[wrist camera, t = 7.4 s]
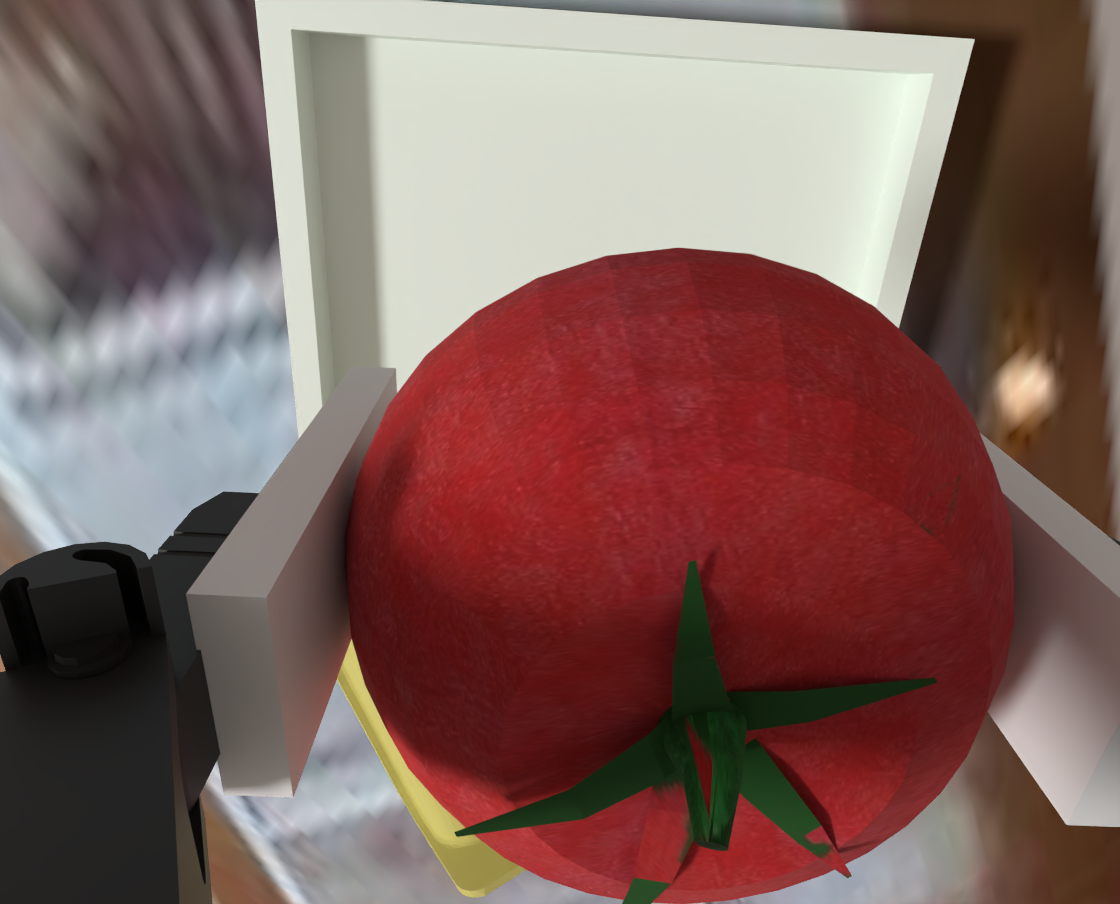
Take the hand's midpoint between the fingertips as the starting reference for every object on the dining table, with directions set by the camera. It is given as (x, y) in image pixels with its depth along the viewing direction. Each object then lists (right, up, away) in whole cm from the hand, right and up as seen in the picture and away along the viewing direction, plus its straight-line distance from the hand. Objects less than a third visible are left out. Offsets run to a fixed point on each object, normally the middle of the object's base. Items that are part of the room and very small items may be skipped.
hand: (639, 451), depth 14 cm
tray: (0, +7, +15) cm, 17 cm away
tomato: (0, 0, 0) cm, 0 cm away
